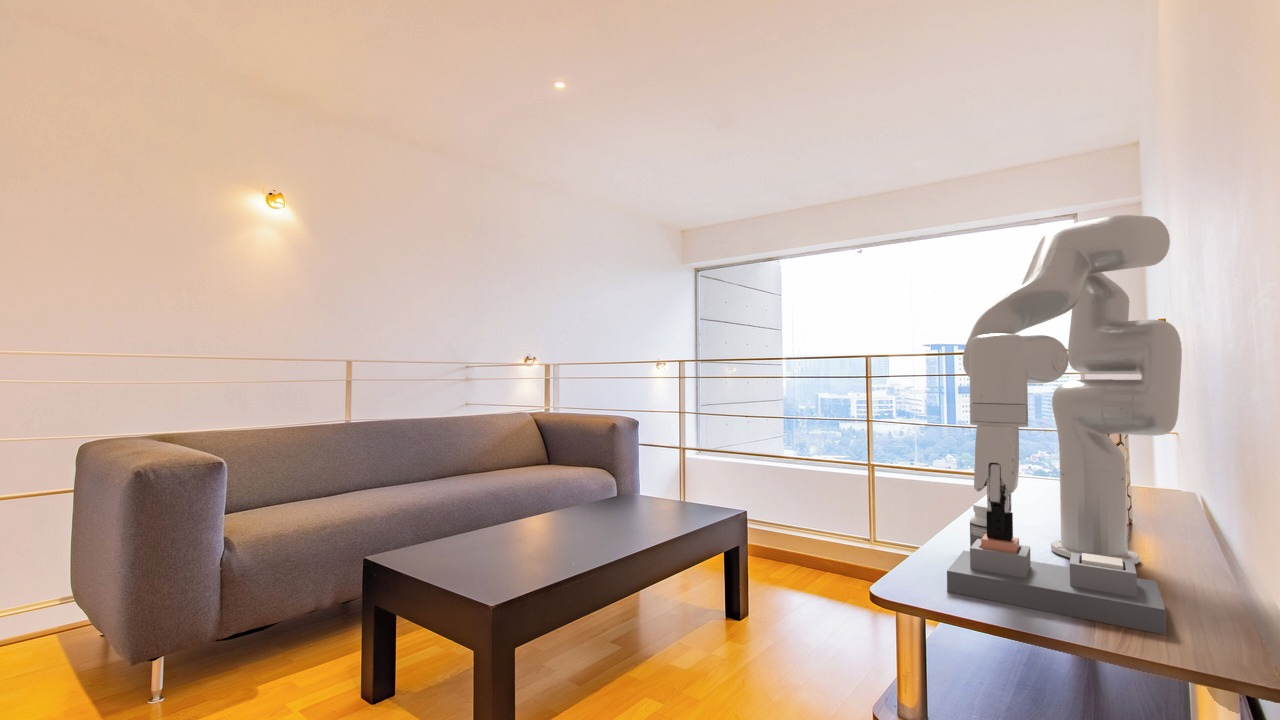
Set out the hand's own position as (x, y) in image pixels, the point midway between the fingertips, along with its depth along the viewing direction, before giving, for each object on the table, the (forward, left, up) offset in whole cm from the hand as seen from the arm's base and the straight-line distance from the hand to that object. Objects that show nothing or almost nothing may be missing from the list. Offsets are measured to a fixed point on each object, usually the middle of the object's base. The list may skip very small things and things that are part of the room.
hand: (999, 538), depth 89 cm
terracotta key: (0, 0, -3) cm, 3 cm away
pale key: (0, +12, -4) cm, 13 cm away
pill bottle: (-13, -3, -8) cm, 15 cm away
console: (0, +6, -7) cm, 9 cm away
